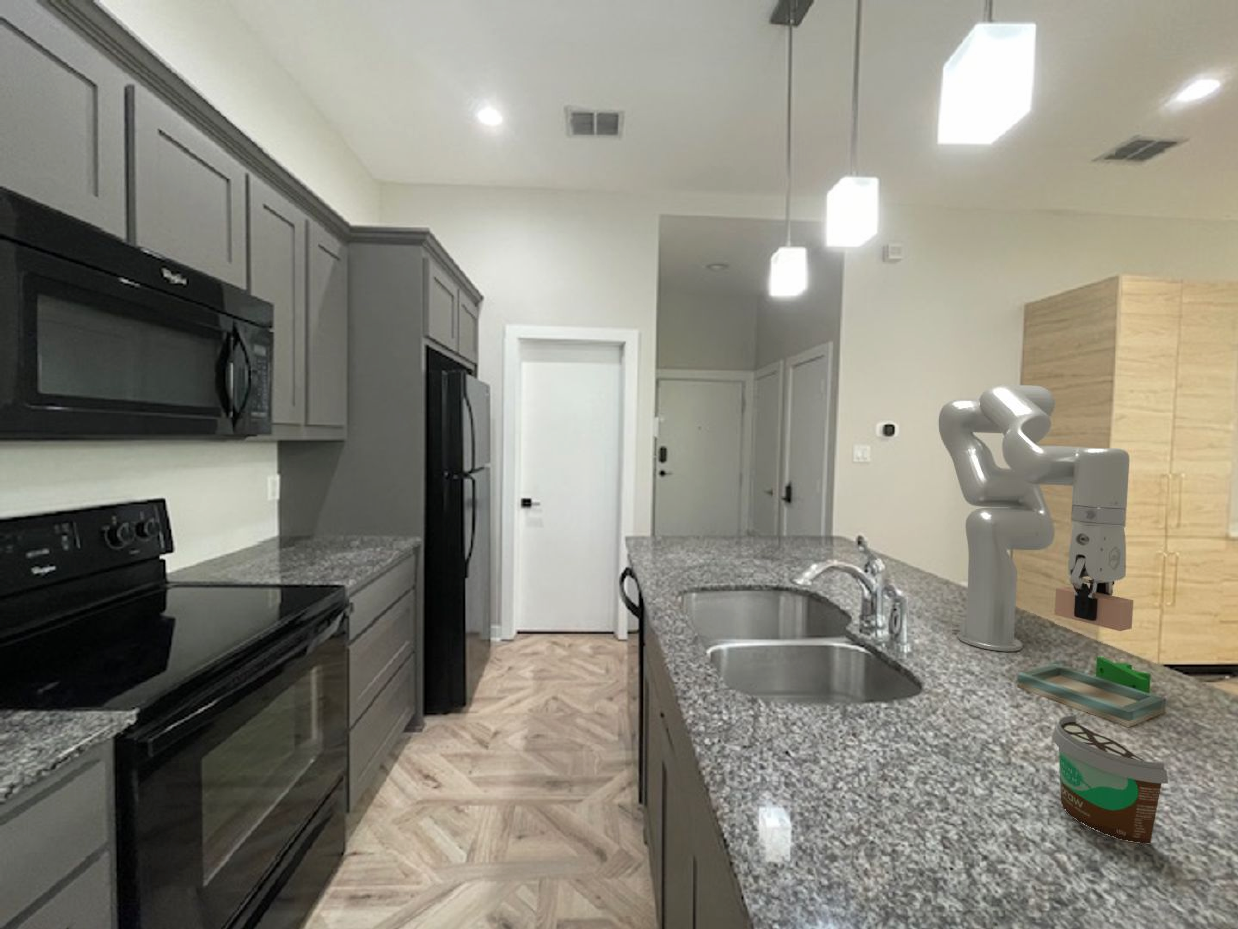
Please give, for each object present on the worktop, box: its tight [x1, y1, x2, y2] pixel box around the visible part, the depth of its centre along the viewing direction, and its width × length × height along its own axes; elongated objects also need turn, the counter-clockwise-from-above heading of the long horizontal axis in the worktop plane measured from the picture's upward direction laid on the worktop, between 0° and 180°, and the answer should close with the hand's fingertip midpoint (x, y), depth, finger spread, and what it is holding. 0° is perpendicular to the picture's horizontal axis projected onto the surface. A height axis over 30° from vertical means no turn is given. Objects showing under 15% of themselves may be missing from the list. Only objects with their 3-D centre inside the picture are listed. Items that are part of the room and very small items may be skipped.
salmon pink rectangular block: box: [1053, 586, 1134, 632], centre depth 103 cm, size 4×10×5 cm, turn 26°
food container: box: [1051, 714, 1169, 844], centre depth 69 cm, size 12×6×10 cm, turn 5°
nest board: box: [1016, 663, 1167, 728], centre depth 104 cm, size 17×13×2 cm
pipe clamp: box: [1095, 656, 1152, 693], centre depth 108 cm, size 11×4×5 cm, turn 173°
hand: (1092, 616), depth 103 cm, fingers closed on salmon pink rectangular block, 4 cm apart
